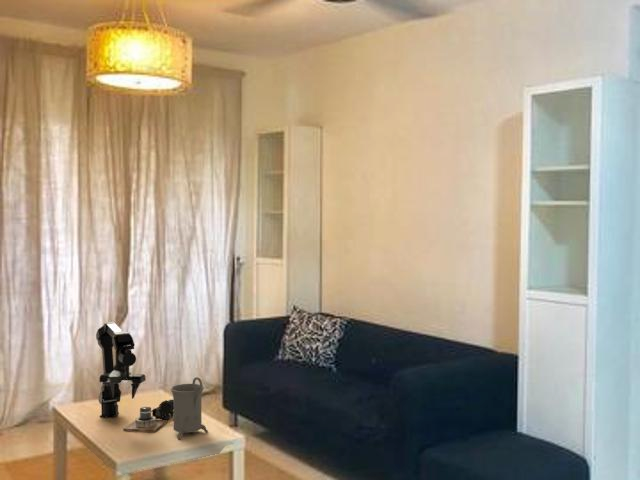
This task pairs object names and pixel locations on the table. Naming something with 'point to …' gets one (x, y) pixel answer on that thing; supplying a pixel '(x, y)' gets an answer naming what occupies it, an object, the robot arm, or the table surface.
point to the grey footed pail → (187, 407)
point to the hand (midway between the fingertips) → (122, 397)
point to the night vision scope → (164, 410)
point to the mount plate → (146, 429)
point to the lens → (145, 413)
